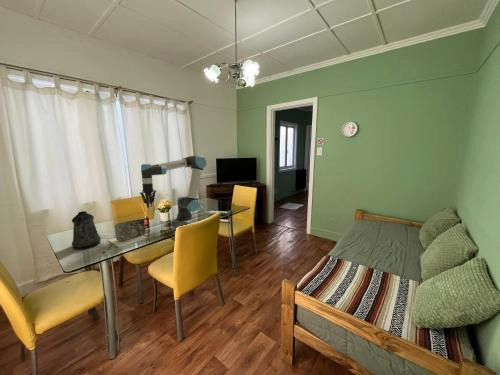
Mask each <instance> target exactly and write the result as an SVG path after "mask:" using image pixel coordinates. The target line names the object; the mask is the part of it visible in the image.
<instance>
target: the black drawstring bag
mask: <svg viewBox="0 0 500 375" xmlns="http://www.w3.org/2000/svg"><path fill="white" fill-rule="evenodd" d="M94 220H95V216H94V215H93V214H90V213H88V212H87V211H85V210H84V211H83V210H82V211H78V213H77V215H76V214H75V216H74V217H73V218H72V219H71V222H72V223H73V229H72V230H73V234H72V235H73V236H72V242H71V246H72V248H73V250H75V249H76V251H80V250H88V249H92V248H95V247H97V246H99V245H100V244H101V241H102V240H101V236H100V234H99V233H98V230H97V228H96V225H95V221H94Z"/></svg>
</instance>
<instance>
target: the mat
mask: <svg viewBox="0 0 500 375" xmlns="http://www.w3.org/2000/svg"><path fill="white" fill-rule="evenodd" d="M149 238H150V236H148V235H146V234H143V235H140V236H137V237H134V238H131V239H128V240H124V241H118V240H117V239H116V237H114V238H111V239H110V238H109V239H107V242H109V243H110V244H112V245H114V246H115V247H117V248H118V249H119V248H122V247H126V246H128V245H132V244H134V243H137V242H141V241H143V240H147V239H149Z"/></svg>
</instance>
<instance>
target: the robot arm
mask: <svg viewBox="0 0 500 375" xmlns="http://www.w3.org/2000/svg"><path fill="white" fill-rule="evenodd" d="M207 164H208V163H207V159H206V158H205V156H203V155H191V156H186V157H182V158H181V159H177V160H176V159H175V160H172V161H166V162H162V163H157V164H151V163H142V164H141V165H140V172H141V181H142V182H141V183H142V191H141V192H139V195H140V196H141V200H142V201H143V204H146V208H147V212H149V213H150V212H152V207H153V203H154V202H155V199H156V198H155V197H156V193H157V190H155V189H154V186H153V185H154V184H153V176H163V175H166V174H167V172H168V171H172V170H176V169H181V168H184V169H185V168H190V169H191V171H192V172H191V176H190V182H189V188H188V195H183V196H178V197H177V200H176V201H177V215H176V220H177V219H178V220H177V221H181V220H184V221H190V220H191V218H192V219H193V214H192V213H193V212H196V211H198V210H199V208H200V206H201V205H200V204H201V203H200V201H199V197H198V193H199V188H200V182H201V176H202V172H203V171H204V168H205V167H207Z"/></svg>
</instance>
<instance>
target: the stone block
mask: <svg viewBox="0 0 500 375" xmlns="http://www.w3.org/2000/svg"><path fill="white" fill-rule="evenodd" d="M114 230H115V238H116V239H117V240H118V241H124V240H128V239H131V238H134V237H137V236H140V235H143V234H144V235H146V234H147V232H146V225H145V218H140V219H133V220H132V219H131V220H127V221H124V222H123V221H122V222H119V223H116V224H114Z"/></svg>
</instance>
